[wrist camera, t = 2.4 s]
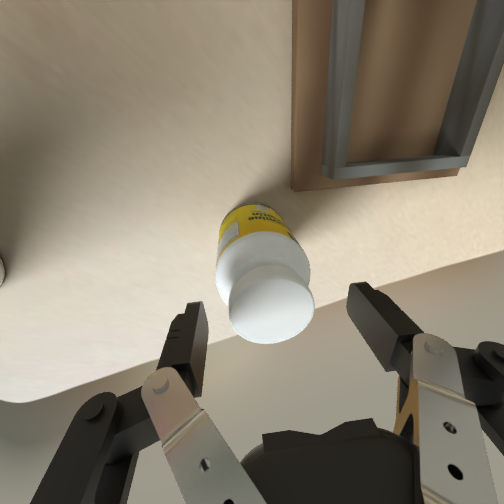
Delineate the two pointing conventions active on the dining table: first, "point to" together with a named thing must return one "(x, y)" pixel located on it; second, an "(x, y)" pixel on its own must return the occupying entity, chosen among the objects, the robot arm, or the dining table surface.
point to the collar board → (389, 88)
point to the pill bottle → (263, 275)
